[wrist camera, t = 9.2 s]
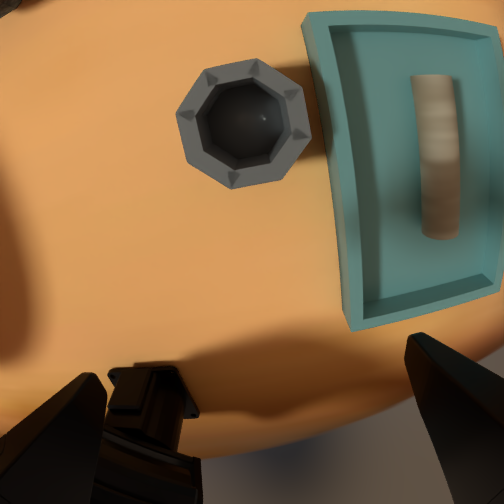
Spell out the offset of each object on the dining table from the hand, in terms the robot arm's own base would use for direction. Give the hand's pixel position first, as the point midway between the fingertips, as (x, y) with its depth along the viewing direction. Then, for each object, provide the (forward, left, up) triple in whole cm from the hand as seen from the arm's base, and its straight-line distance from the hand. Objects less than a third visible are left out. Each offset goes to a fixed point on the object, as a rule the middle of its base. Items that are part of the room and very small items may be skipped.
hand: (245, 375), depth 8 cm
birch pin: (-2, -11, -11) cm, 16 cm away
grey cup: (+6, -1, -12) cm, 13 cm away
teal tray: (+2, -11, -12) cm, 16 cm away
